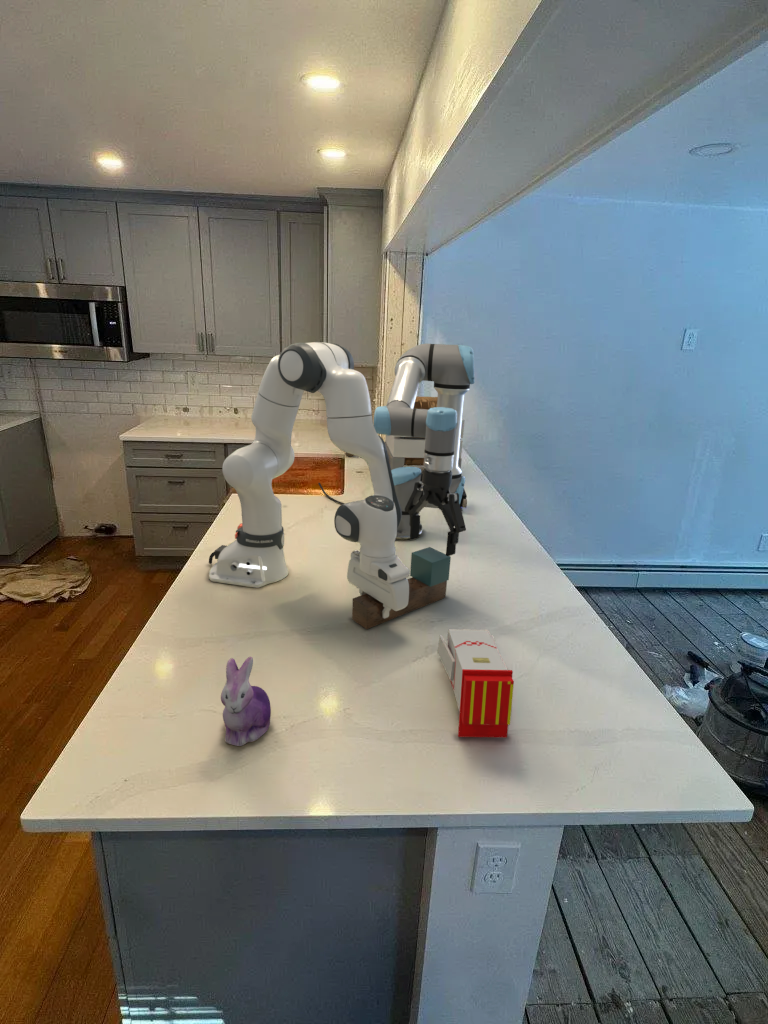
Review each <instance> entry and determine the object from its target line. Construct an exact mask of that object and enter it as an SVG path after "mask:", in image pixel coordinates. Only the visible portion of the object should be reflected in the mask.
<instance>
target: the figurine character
mask: <svg viewBox="0 0 768 1024" xmlns="http://www.w3.org/2000/svg"><path fill="white" fill-rule="evenodd" d="M467 495H468V494H467V493H466V490H465V488H464V489H463V494H462V498H461V502H460V507H461V511H462V512H463V509H464V508H465V509H466V508H467V506H468V499H467V497H468V496H467Z"/></svg>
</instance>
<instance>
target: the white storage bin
mask: <svg viewBox="0 0 768 1024" xmlns="http://www.w3.org/2000/svg"><path fill="white" fill-rule="evenodd" d="M437 397H438V396H417V395H416V399H415V403H414V408H413V409H427V410H429V409H430V408H434V407H437ZM464 429H465V419H464V418H462V425H461V436H460V447H459V459H458V467H459V468H460V469H461V470H462V461H463V460H462V453H463V442H464V441H463V440H462V439H463V438H464V431H465V430H464ZM384 443H385V446H386V449H387V453H388V457H389V462H390V467H391V470H393V469H396V468H400V467H405V466H406V467H417V466H418V467H423V466H424V451H425V438H420V437H408V436H392V435H390V436H387V435H385V438H384Z"/></svg>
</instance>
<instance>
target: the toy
mask: <svg viewBox="0 0 768 1024" xmlns="http://www.w3.org/2000/svg"><path fill="white" fill-rule="evenodd" d="M446 640H447V643H446V641H445V639H444V636H443V635H442V634H439V637H438V646H437V656H438V657H439V659H440V661H441V663H442V666H443V668H444V670H445V672H446V674H447V677H448V679H449V681H450V684H451V687H452V690H453V693H454V697H455V701H456V705H457V708H458V711H459V714H458V715H459V716H458V730H457V731H458V732H457V737H458V738H508V731H509V726H510V725H511V717H512V707H513V697H514V696H513V695H514V684H515V680H514V679H513V673H514V671H513V670H512V669H508V667H507V665H506V662H505V661H504V659H503V658H502V655H501V653H500V651H499V649H498V647H497V643H496V639H495V637H494V635H493V634H491V632H490V631H489V629H467V628H466V629H465V628H463V629H461V628H460V629H459V628H448V630H447V639H446Z"/></svg>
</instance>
